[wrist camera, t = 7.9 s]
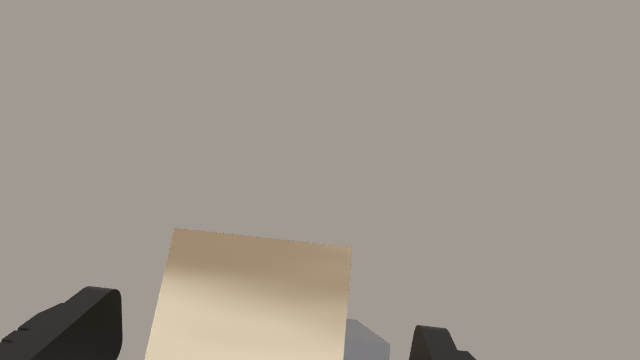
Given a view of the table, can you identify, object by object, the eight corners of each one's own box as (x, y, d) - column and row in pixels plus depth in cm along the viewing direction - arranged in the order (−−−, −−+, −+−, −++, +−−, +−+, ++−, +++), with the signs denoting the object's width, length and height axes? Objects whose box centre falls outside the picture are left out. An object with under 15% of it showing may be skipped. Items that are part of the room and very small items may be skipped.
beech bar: (390, 405, 7) (400, 167, 9) (91, 371, 7) (151, 141, 9) (332, 317, 30) (337, 256, 32) (261, 309, 30) (269, 249, 32)
